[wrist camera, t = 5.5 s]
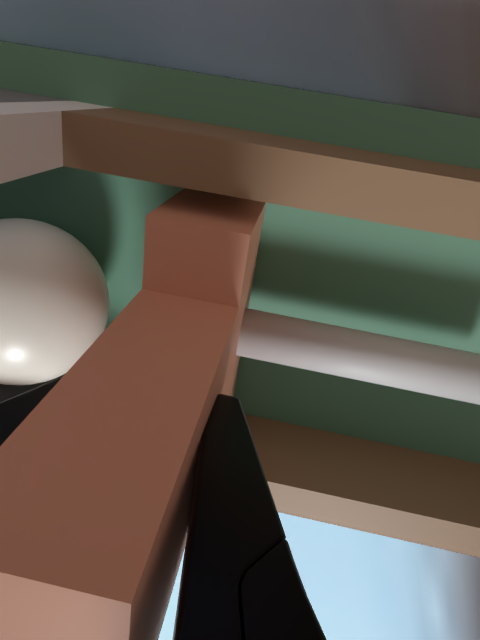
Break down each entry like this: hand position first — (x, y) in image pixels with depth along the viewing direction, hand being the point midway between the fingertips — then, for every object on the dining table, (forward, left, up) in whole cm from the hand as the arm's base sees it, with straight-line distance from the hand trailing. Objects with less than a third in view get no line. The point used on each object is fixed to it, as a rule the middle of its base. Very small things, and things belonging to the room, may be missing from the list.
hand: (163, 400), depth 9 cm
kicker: (-3, 0, -4) cm, 5 cm away
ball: (+4, 0, -3) cm, 5 cm away
